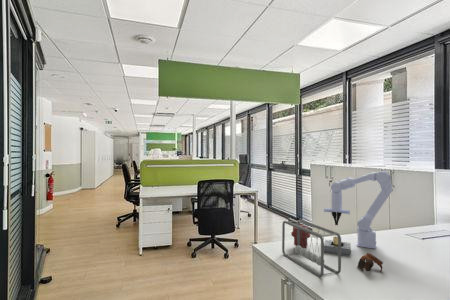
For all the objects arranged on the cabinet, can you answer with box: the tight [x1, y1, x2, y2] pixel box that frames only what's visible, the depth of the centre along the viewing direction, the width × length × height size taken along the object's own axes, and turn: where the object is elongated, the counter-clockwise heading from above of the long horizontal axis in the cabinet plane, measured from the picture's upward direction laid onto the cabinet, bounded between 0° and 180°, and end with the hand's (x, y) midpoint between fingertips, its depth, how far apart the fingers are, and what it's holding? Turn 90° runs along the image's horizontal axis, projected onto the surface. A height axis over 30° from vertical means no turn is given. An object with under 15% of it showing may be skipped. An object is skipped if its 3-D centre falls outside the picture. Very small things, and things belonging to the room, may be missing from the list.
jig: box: [324, 239, 352, 257], centre depth 150 cm, size 13×11×4 cm
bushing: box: [332, 236, 338, 246], centre depth 150 cm, size 4×4×7 cm
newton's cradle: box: [281, 218, 342, 278], centre depth 132 cm, size 30×10×18 cm, turn 22°
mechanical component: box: [290, 224, 311, 249], centre depth 154 cm, size 12×10×10 cm
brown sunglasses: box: [357, 252, 384, 273], centre depth 125 cm, size 12×10×8 cm
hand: (336, 224), depth 167 cm, fingers closed
